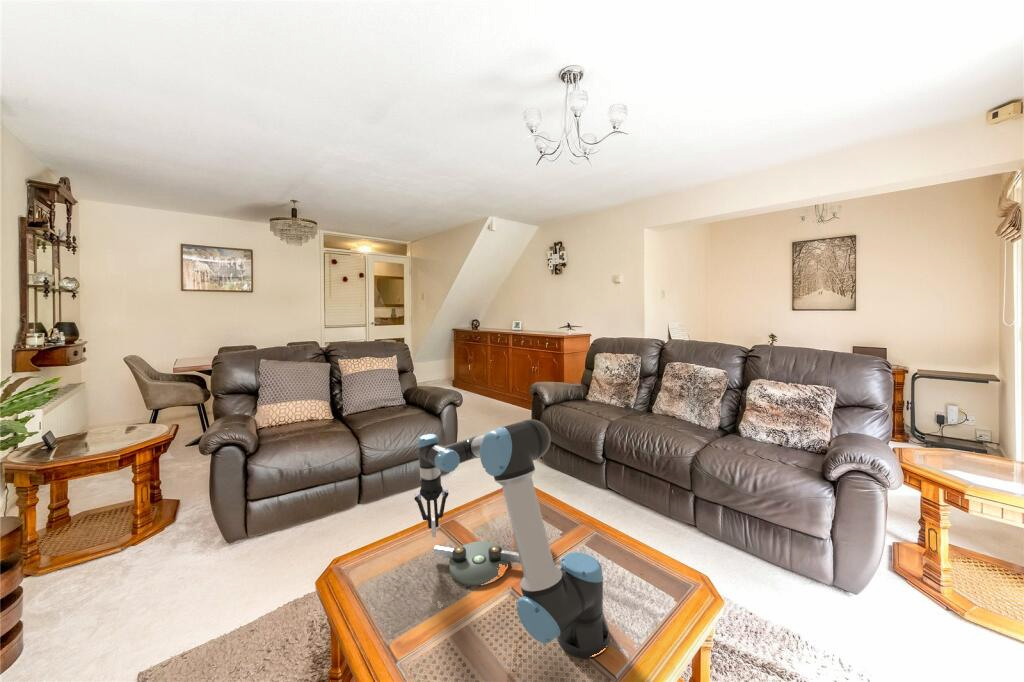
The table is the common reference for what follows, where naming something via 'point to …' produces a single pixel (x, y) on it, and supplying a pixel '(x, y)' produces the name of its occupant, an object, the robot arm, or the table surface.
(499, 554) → the knob right
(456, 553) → the knob left
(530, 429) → the robot arm
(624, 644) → the table surface
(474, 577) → the plate
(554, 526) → the table surface
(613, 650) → the table surface
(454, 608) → the table surface
